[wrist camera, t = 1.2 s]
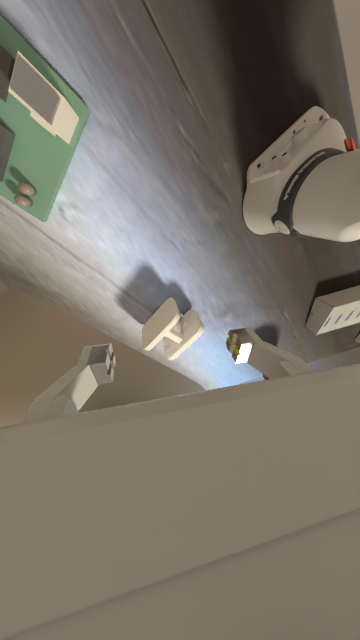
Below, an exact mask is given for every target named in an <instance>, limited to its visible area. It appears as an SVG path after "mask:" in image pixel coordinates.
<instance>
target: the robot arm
mask: <svg viewBox="0 0 360 640" xmlns="http://www.w3.org/2000/svg"><path fill="white" fill-rule="evenodd" d="M319 118H320V121H319ZM258 164H259V168H258V167H257V165H258ZM243 216H244V220H245V223H246V225H247V227H248V228H249V229H250V230H251V231H252V232H254V233H256V234H260V235H264V234H269V233H276V232H281V233H284V234H287V235H292V236H298V237H305V238H306V237H318V238H323V239H329V240H334V241H340V242H351V241H355V240H359V239H360V149H357V150H356V148H355V144H354V141H353V139H352V137H350V142H349V141H348V140H347V138H346V135H345V132H344V130H343V128H342V126H341V124H340V123H339V122H338V121H337V120H336V119H334V118H330V117H329V115H328V114H327V113H326V112H325V111H324V110H323V109H322V108H320V107H318V106H314V107H311V108H310V109H309V110H307V111H306V112H305V113H304V114H303V115H302V116H301V117H300V118H299V119H298V120H297V121H296V122H295V123H294V124H293V125H291V126H290V127H289V128H288V129H287V130H286V131H285V132H284V133H283V134H282V135H281V136H280V137H279V138H278V139H277V140H276V141H275V142H274V143H272V144H271V145H270V146H269V147H268V148H267V149H266V150H265V151H264V152H263V153H262V154H261V155H260V156H259V157H258V158H257V159H256V160H254V161H253V162H252V163H251V164H250V166H249V167H248V170H247V189H246V193H245V197H244V202H243ZM228 335H229V337H228V338H227V341H226V345H227V349H228V351H229V352H231V353H232V357H233V359H234V360H235V362H236V363H241V362H247V363H249V364H250V365H252V366H253V367H254V368H256V369H257V370H258V371H260V372H261V373H263V374H264V375H265V376H267V377H268V378H269V379H268V380H263V381H257V382H252V383H247V384H240V385H235V386H229V387H223V388H218V389H212V390H207V391H201V392H195V393H190V394H184V395H178V396H173V397H167V398H161V399H156V400H150V401H144V402H139V403H134V404H127V405H122V406H116V407H111V408H105V409H99V410H94V411H88V412H82V413H79V409H80V408H81V407H82V405H83V404H84V403H85V402H86V400H87V399H88V398H89V397H90V395H91V394H92V393H93V391H94V390H95V389H96V388H97V386H98V385H99V384H104V383H109V382H113V376H114V371H113V369H114V368H115V355H114V353H113V352H112V349H113V348H112V345H111V344H103V345H94V346H85V347H84V348H83V351H82V353H81V356H80V359H79V361H78V363H77V366H76V367H73V368H72V369H71V370H70V371H68V372H67V373H66V374H64V375H63V376H62V377H61V378H60V379H59V380H57V381H56V382H55V383H54V384H52V385H51V386H50V387H49V388H48V389H46V390H45V391H44V392H43V393H42V394H40V395H39V396H38V397H37V398H36V399H35V400H34V401H33V403H32V405H31V407H30V409H29V411H28V412H27V414H26V416H25V418H24V420H23V422H22V423H21V424H15V425H9V426H4V427H0V640H360V363H359V364H353V365H347V366H342V367H336V368H331V369H325V370H319V371H313V370H312V369H311V368H310V367H309V366H308V365H307V364H306V363H305V362H304V361H303V360H302V359H301V358H299V357H297V356H295V355H293V354H291V353H289V352H287V351H284V350H282V349H280V348H278V347H276V346H274V345H272V344H269V343H267V342H263V341H262V340H261V339H260V338H259V336H258V335H257V334H256V333H255V332H254V331H253V330H252V329H251V328H243V329H234V330H230V331H229V333H228Z"/></svg>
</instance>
